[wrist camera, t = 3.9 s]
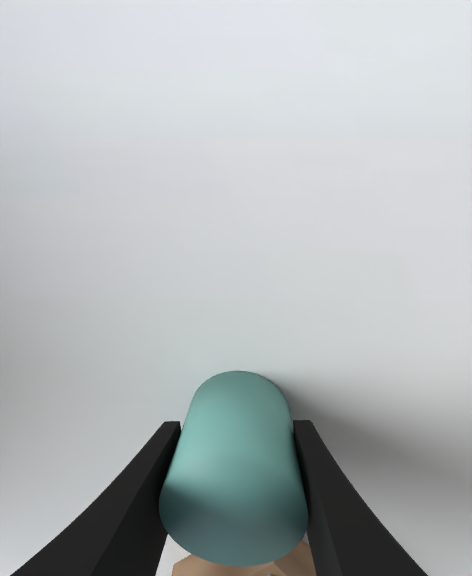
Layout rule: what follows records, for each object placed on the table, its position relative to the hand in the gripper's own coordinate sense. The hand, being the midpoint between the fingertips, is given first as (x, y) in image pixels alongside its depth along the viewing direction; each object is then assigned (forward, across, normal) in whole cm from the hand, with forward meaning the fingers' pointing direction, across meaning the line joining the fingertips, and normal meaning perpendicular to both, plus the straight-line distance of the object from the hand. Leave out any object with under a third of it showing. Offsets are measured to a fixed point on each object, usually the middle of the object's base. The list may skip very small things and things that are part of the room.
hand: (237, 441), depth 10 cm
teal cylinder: (+1, 0, 0) cm, 1 cm away
